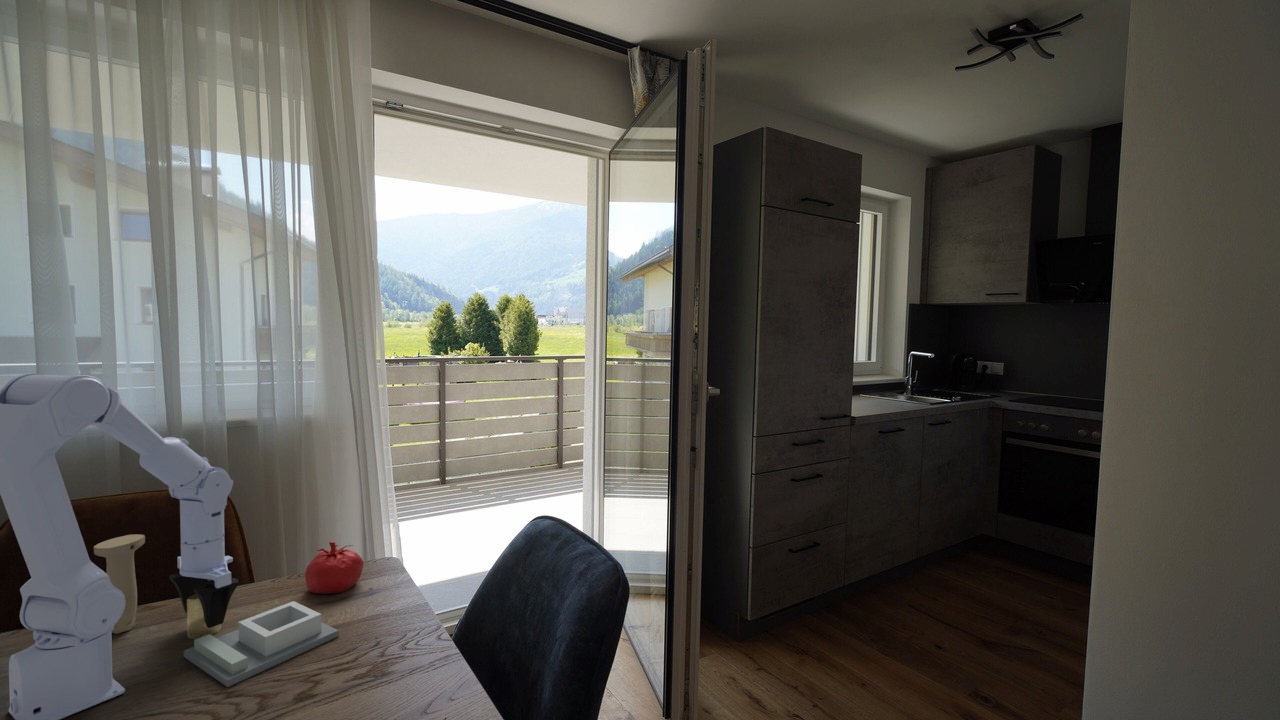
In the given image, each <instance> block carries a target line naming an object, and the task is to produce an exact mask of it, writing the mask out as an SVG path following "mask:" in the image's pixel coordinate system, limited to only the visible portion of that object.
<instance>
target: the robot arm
mask: <svg viewBox="0 0 1280 720" xmlns="http://www.w3.org/2000/svg"><path fill="white" fill-rule="evenodd" d="M91 425H92V426H95V427H96V428H97V429H99V430H101V431H102V432H104V433H106V434H107V435H109V436H110V437H112V438H114V439H115V440H116V441H118V442H120V443H121V444H123V445H125V446H126V447H128V448H130V449H131V450H132V451H134V452H136V453H138V455H139V461H138V462H139V465H140V467H141V468H142V469H144V470H146V471H147V472H149V474H151V475H152V476H153V477H155V478H156V479H158V480H159V481H161V482H162V483H163V484H165V485H167V486H168V492H169V494H170V496H171V497H172V498H175V499H177V500H179V517H180V518H179V519H180V525H179V527H180V529H179V530H180V556H177V560H176V561H177V569H179V571H178V572H175V573H173V574H170V575H169V576H168V579H169V580H170V581H171V582H172V584H173V585H174V587H175V589H176V590H177V593H178V594H179V597H180V600H181V603H182V607H183V609H184V612H185V615H187V599H188V598H189V597H190V596H192V595H194V594H196V595H197V596H198V598H199V600H200V602H201V605H202V608H203V613H204V619H205V623H206V626H207V627H208V628H211V627H214V626H217V625H219V624H221V625H222V624H224V621H225V619H226V614H227V610H228V607H229V603H230V601H231V598H232V597H233V594H234V592H235V591H236V589H237V587H238V586H239V583H240V582H239V579H238V578H236V577H233V578H232V572H231V571H230V570H229V568H228V564H229V563H232V562H233V561H234V557H232V556H230V555H226V551H225V550H226V549H225V509H226V506H227V505H228V497H229V495H230V493H231V491H232V489H233V485H234V480H233V479H231V477H230V475H229V473H228V472H227V470H225V469H224V468H222V467H219V466H211V464H210V463H209V459H208V458H207V457H206V456H200V455H199V454H198V453H196V452H195V451H194V450H193V449H192V448H190V447H189V444H190V441H188V440H187V439H185V438H180V437H179V438H178V437H175V436H167V437H162V436H161V435H160V434H159V433H158V432H157V431H156V430H155V429H153V427H152V426H150V425H149V424H148V423H147V422H146V421H145V420H143V419H142V418H141V417H140V416H139V415H138V414H137V413H136V412H134V410H132V409H131V408H130V407H129V406H128V405H127V404H125V402H123V401H122V399H121V397H120V393H119V392H118V391H116V390H115V389H113V388H111V387H108V386H107V385H106V383H105V382H104V381H103V380H101V379H100V378H97V377H96V376H93V375H86V374H79V375H77V374H76V375H61V374H60V375H56V374H44V373H43V374H42V373H38V372H37V373H34V372H32V373H24V374H20V375H18V376H16V377H15V376H14V377H13V378H12V379H10V380H9V381H8V382H7V383H6V384H5V385H4V386H3V387H1V389H0V497H1V500H2V503H3V505H4V508H5V511H6V513H7V515H8V519H9V521H10V524H11V526H12V530H13V531H14V534H15V537H16V540H17V543H18V545H19V548H20V550H21V554H22V557H23V559H24V561H25V564H26V567H27V569H28V572H29V575H30V577H31V578H30V579H28V580H27V581H26V582H24V584H23V585H22V586H21V587H20V589H19V592H20V595H21V598H22V599H21V600H22V602H21V607H20V610H19V620H20V623H21V624H22V626H23V627H24V628H25V629H28V630H30V631H32V635H33V636H32V638H33V640H34V641H35V642H34V644H32V645H30V646H28V647H27V648H25V649H22V650H20V651H18V652H16V653H13V654H11V655H10V657H9V661H8V682H9V683H8V687H9V688H8V689H9V708H8V712H9V714H10V716H12V718H13V719H14V720H62V719H65V718H66V717H69V716H71V715H74V714H76V713H79V712H81V711H83V710H86V709H88V708H92V707H93V706H96V705H98V704H101V703H103V702H106V701H108V700H110V699H113V698H115V697H117V696H120V695H122V694H124V693H125V692H126V688H125V687H123V686H122V685H121V684H120V683H119V682H118V681H116V680H115V678H114V677H113V651H112V650H113V646H112V645H113V644H112V643H113V640H112V633H111V631H112V630H113V629H114V625H115V624H116V623H117V622H118V620H119V619H120V617H121V616H122V614H123V611H124V608H125V596H124V594H123V593H122V591H121V590H119V589H117V588H116V587H114V586H113V585H112V583H111V581H110V578H109V576H108V575H107V574H106V572H105V571H104V570H103V569H101V568H100V567H99V566H98V565H96V564H95V563H94V562H92V560H91V559H90V557H89V554H88V550H87V548H86V544H85V541H84V538H83V536H82V533H81V530H80V527H79V524H78V520H77V518H76V515H75V512H74V509H73V505H72V502H71V500H70V497H69V494H68V491H67V487H66V486H65V485H66V484H65V482H64V479H63V476H62V473H61V470H60V466H59V464H58V461H57V459H56V453H57V452H58V450H60V448H61V447H62V446H63V445H64V444H65V443H66V442H67V441H69V440H70V439H71V438H74V437H75V436H76V435H78V434H79V433H80V432H82V431H83V430H84V429H86V428H87V427H89V426H91Z"/></svg>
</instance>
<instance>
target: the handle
mask: <svg viewBox="0 0 1280 720" xmlns="http://www.w3.org/2000/svg"><path fill="white" fill-rule="evenodd" d="M145 543H146V536H145V534H137V533H136V534H126V535H123V536H117V537H114V538H110V539H107V540H104V541H102V542H100V543H97V544H96V545H94V546H93V554H94V555H95V556H97V557H103V558H105V560H106V561H105V562H106V572H105V573H106V574H107V575H108V576H109V578H110V581H111V583H112V585H113V586H114V587H116V588H117V589H119V590H121V591H122V593H123V594H124V596H125V608H124V611H123V614H122V616H121V617H120V619H119V620H118V622H117V623H116V624H115V625H114V629H113V630H112V631H111V634H115V635H116V634H117V635H118V634H120V633H124V632H128V631H130V630H132V629H133V627H134V626H135V625H136V620H137V618H136V616H137V610H138V609H137V607H138V587H137V578H136V567H135V552H136V551H137V550H138V549H139V548H141V547H143V545H144V544H145Z"/></svg>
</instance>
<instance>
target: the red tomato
mask: <svg viewBox="0 0 1280 720" xmlns="http://www.w3.org/2000/svg"><path fill="white" fill-rule="evenodd" d="M328 543H329V547H330V550H328V549H327V548H320V549H318V548H317V549H316V551H318V552H320V553H318V554H317V555H316V556H315V557H314V558H313V559H312V560H311V561H310V562H309V564H308V565H307V567H306V569H305V572H304V578H305V583H306V587H307V589H308V590H309V591H310V592H311V593H314V594H318V595H321V594H324V595H326V594H327V595H328V594H337V593H343V592H345V591H346V590H349V589H351V588H352V587H353V586H354V585H356V583H357V582H358V581H359V579H360V578H361V575H362V572H363V568H364V560H363V558H362V557H361V556H360V555H359V554H358V553H357V552H355V551H352V550H350V549H345V548H348V547H353V546H355V545H354V544H352V545H351V544H349V545H345V546H342V547H341V548H339V549H338V544H336V542H335V541H333V540H331V541H329V542H328ZM321 551H322V552H321Z"/></svg>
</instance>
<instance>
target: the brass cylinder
mask: <svg viewBox="0 0 1280 720" xmlns="http://www.w3.org/2000/svg"><path fill="white" fill-rule="evenodd" d="M186 623H187V624H186V625H187V626H186V629H187V630H186V632H187V633H186V635H187V638H188V639H191V640H192V639H193V640H195V639H198V638H201V637H203V636H206V635H208V634H210V635H212V636H214V635H215V634H216V633H218V632H220V631H221V629H222V624H219V625H217V626H214V627H211V628H208V627H207V626H206V623H205V619H204V613H203V608H202V605H201V602H200V600H199V598H198V596H197V595H196V594H194V595H192V596H190V597H189V598H188V599H187V616H186Z"/></svg>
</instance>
